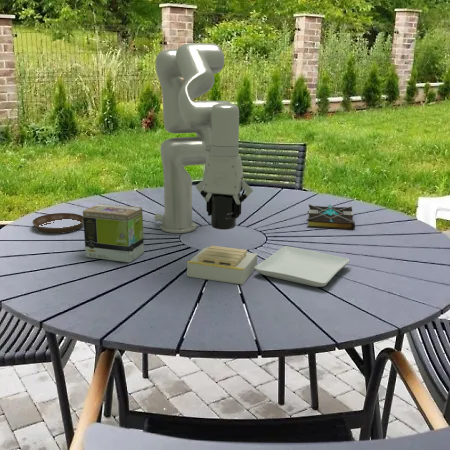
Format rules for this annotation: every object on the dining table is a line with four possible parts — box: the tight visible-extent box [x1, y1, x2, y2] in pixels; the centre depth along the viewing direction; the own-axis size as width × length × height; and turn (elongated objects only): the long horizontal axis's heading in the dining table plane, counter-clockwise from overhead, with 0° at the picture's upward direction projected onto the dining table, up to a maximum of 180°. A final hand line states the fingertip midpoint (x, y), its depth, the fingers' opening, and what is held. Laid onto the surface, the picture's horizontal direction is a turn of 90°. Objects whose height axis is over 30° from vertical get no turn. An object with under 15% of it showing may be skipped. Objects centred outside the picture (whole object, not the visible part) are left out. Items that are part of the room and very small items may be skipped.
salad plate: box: [254, 245, 350, 288], centre depth 163 cm, size 21×21×3 cm
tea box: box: [82, 203, 145, 264], centre depth 172 cm, size 15×10×15 cm, turn 71°
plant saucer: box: [32, 212, 84, 234], centre depth 200 cm, size 18×18×3 cm
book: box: [306, 203, 356, 231], centre depth 212 cm, size 22×17×5 cm
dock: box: [186, 245, 258, 285], centre depth 162 cm, size 16×14×6 cm
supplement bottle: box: [210, 194, 237, 231], centre depth 157 cm, size 7×7×12 cm
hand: (223, 215), depth 158 cm, fingers closed on supplement bottle, 6 cm apart
